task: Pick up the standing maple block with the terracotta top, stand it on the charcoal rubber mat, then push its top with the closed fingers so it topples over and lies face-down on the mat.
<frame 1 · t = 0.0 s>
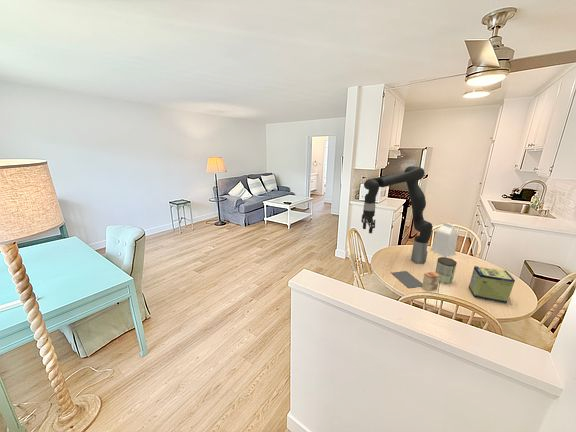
hand: (367, 231, 156), 29 cm above the table, fingers open, 8 cm apart
protein box: (486, 295, 132), on the table
mat: (407, 279, 150), on the table
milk: (442, 253, 184), on the table
coffee can: (442, 279, 148), on the table
block: (429, 288, 140), on the table
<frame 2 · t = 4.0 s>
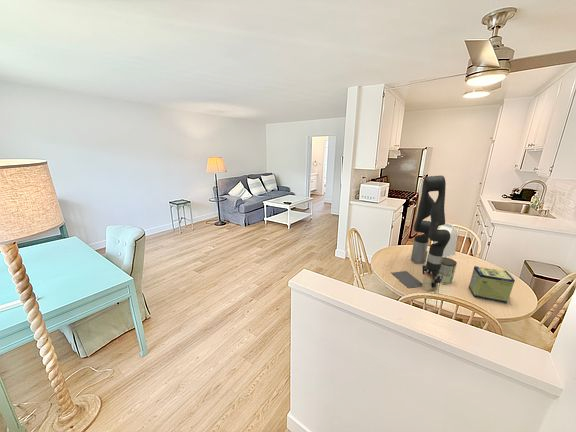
hand: (429, 284, 139), 2 cm above the table, fingers open, 5 cm apart
block: (429, 288, 140), on the table, touching gripper
everything else where it was.
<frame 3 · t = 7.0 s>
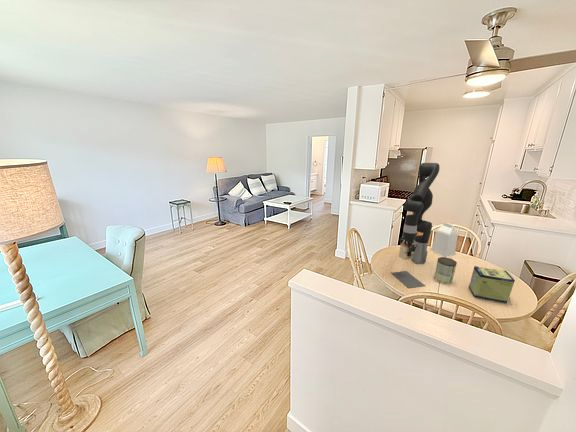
hand: (406, 254, 149), 16 cm above the table, fingers closed on block, 4 cm apart
block: (405, 257, 150), point 14 cm above the table, touching gripper
everything else where it was.
when the fingers open (3 cm above the table, at t = 9.7 s): block stays where it is, resting on mat.
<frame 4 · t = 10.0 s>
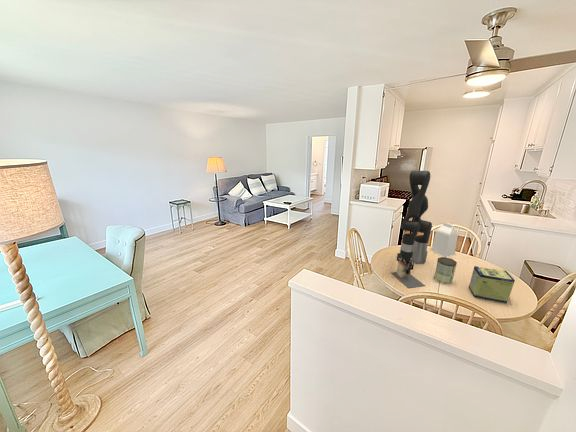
hand: (403, 270, 153), 4 cm above the table, fingers open, 7 cm apart
block: (402, 275, 154), resting on mat
everything else where it was.
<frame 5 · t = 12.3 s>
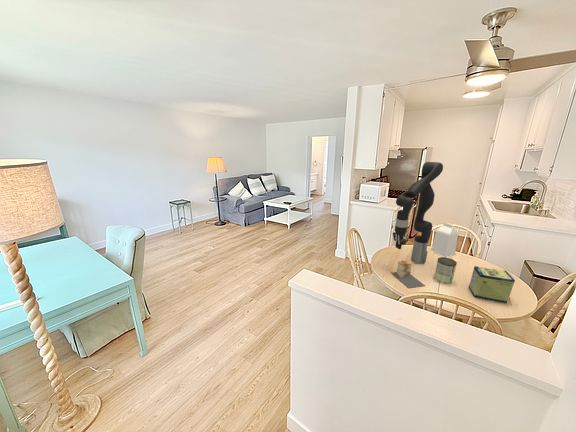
hand: (398, 248, 157), 17 cm above the table, fingers closed
nothing on the table moved.
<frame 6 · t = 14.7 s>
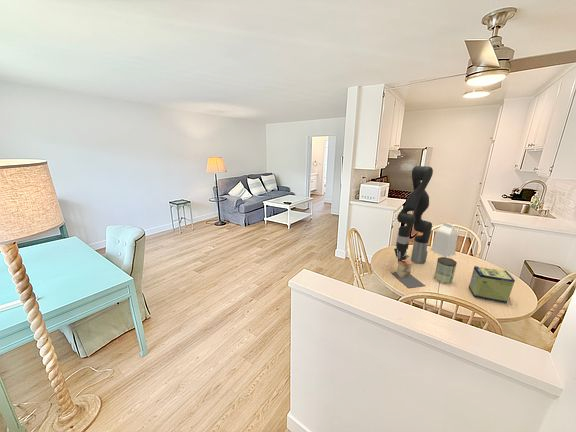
hand: (399, 263, 156), 7 cm above the table, fingers closed
block: (402, 275, 154), resting on mat, touching gripper
everything else where it was.
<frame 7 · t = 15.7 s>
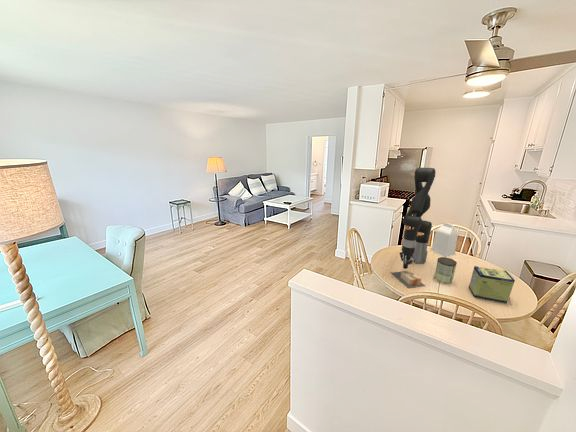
hand: (405, 268, 150), 7 cm above the table, fingers closed
block: (405, 274, 151), point 3 cm above the table, tilted 90°, touching mat
everything else where it was.
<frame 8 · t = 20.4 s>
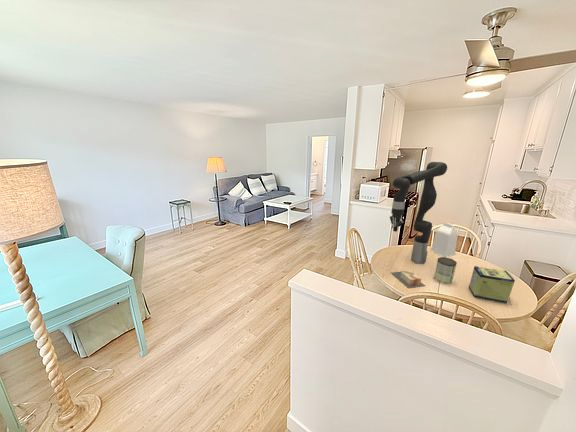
hand: (395, 231, 156), 29 cm above the table, fingers closed
nothing on the table moved.
at the end: block tilted 90°; block inside the target area (2.7 cm from its centre), point 2.6 cm above the table; the gripper is holding nothing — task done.
